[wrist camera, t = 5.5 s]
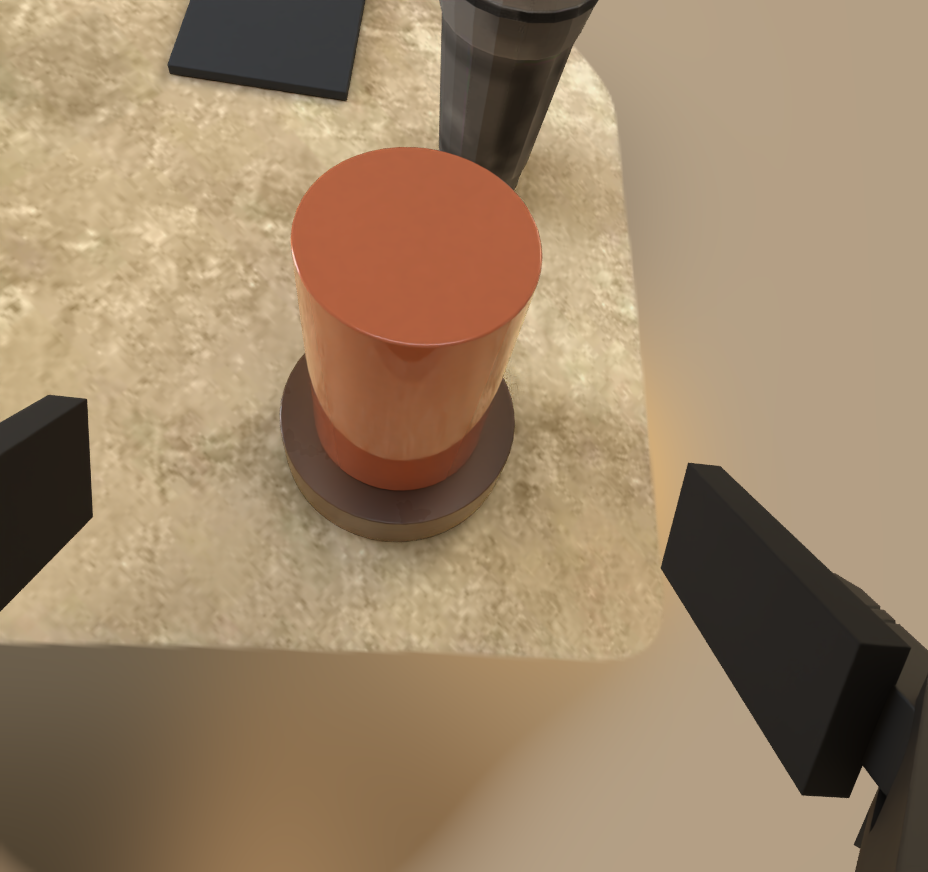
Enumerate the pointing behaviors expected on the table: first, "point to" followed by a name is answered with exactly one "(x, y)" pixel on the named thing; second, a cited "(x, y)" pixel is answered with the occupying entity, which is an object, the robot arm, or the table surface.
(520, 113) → the beverage cup
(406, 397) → the terracotta cylinder
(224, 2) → the mat
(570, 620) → the table surface
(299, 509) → the table surface
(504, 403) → the saucer
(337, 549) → the table surface
